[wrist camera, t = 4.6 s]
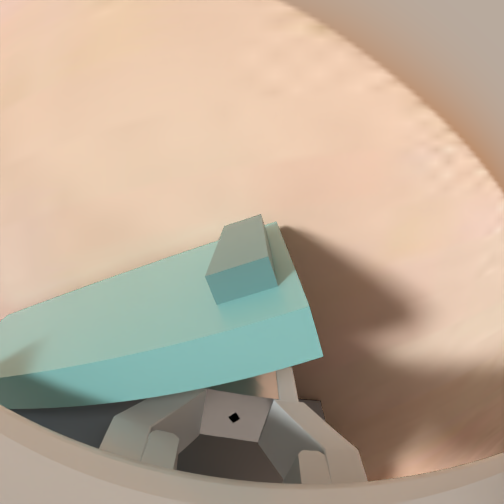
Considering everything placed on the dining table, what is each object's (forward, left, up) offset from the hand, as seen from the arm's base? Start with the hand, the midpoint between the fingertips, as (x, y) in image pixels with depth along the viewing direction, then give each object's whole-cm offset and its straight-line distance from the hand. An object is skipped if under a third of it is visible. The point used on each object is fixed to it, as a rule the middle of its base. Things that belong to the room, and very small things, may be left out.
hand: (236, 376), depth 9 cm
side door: (+6, 0, -3) cm, 7 cm away
